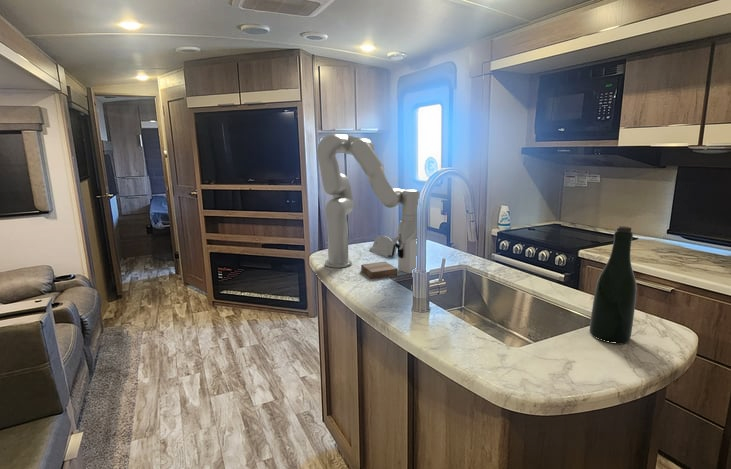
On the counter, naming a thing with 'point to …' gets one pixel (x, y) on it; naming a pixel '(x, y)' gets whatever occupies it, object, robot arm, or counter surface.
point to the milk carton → (408, 255)
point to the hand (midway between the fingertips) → (409, 256)
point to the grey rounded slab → (384, 246)
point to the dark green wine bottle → (615, 293)
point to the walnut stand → (379, 270)
